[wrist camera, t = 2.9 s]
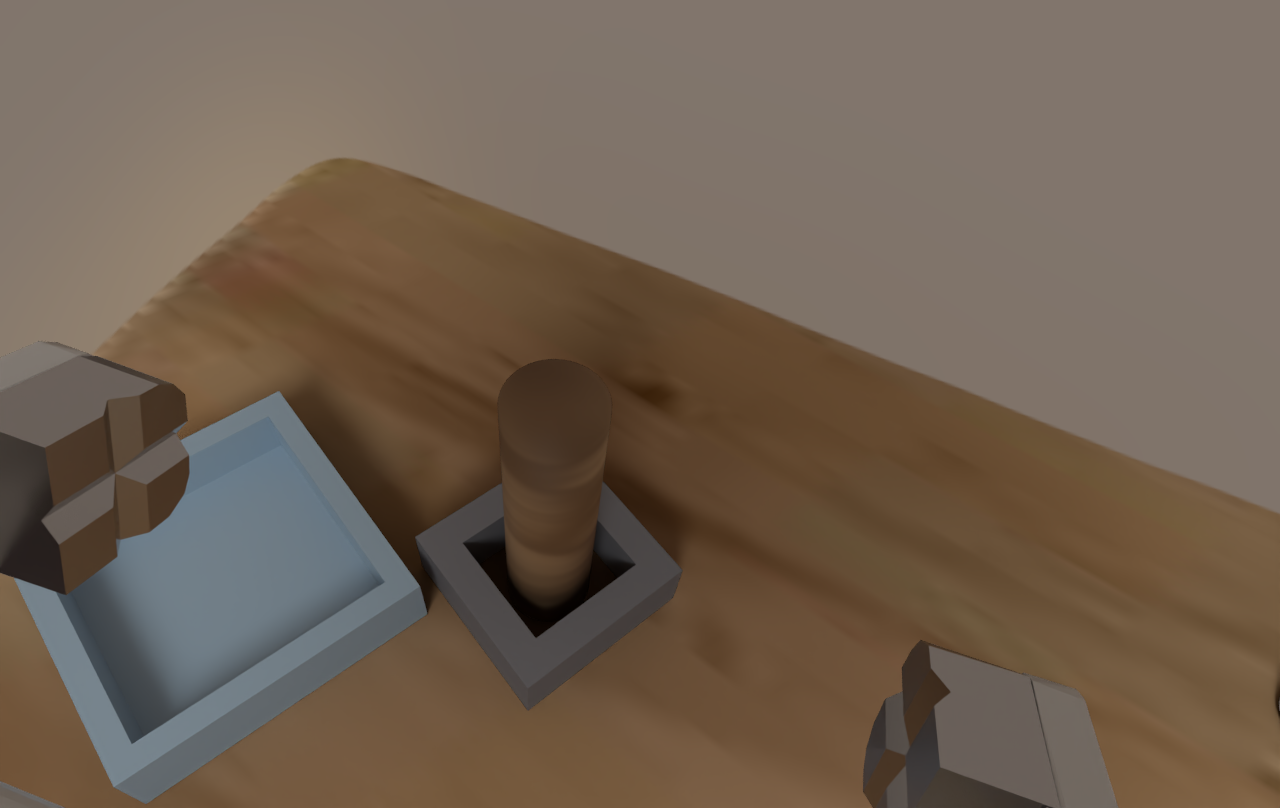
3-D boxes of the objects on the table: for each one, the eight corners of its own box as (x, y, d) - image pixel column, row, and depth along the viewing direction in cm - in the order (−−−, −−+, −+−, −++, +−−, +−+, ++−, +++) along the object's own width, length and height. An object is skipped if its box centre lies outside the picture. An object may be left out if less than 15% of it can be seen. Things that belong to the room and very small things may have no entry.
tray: (293, 427, 41) (278, 390, 39) (427, 613, 37) (420, 586, 34) (29, 565, 36) (-7, 533, 34) (146, 803, 32) (113, 787, 29)
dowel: (556, 531, 40) (566, 342, 28) (604, 589, 38) (635, 414, 27) (492, 575, 38) (474, 393, 27) (539, 637, 37) (543, 473, 25)
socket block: (565, 474, 41) (567, 441, 39) (672, 597, 38) (682, 570, 36) (422, 566, 38) (415, 537, 36) (528, 710, 35) (527, 688, 32)
